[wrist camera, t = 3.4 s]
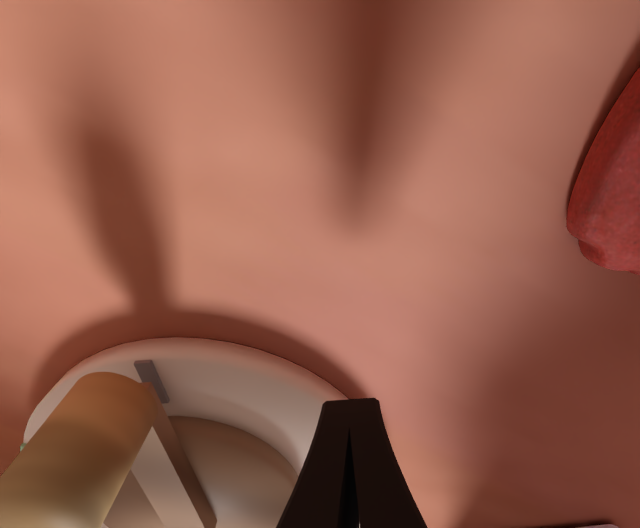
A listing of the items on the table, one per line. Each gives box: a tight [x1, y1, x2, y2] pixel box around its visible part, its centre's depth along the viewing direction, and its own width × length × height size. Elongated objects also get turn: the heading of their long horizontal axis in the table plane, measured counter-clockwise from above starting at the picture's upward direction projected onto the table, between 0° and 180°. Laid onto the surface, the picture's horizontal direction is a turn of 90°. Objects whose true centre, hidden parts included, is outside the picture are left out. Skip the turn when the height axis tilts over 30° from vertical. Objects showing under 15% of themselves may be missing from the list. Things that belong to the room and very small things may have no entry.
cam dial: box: [0, 372, 299, 528], centre depth 14 cm, size 13×9×5 cm
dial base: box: [20, 337, 360, 528], centre depth 18 cm, size 16×16×1 cm
